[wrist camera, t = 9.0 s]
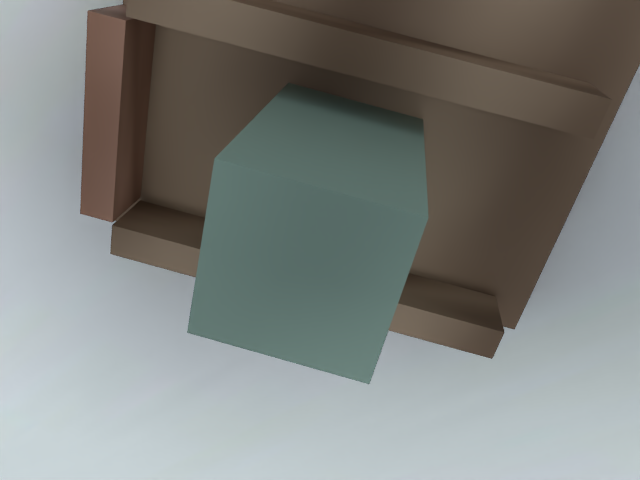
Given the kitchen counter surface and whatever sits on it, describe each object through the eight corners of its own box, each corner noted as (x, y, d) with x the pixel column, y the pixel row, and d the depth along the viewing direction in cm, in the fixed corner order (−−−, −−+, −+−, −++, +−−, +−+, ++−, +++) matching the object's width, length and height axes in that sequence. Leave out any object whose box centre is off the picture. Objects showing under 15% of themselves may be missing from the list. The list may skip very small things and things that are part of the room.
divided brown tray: (758, -220, 13) (839, -261, 11) (510, 316, 20) (524, 367, 17) (161, -366, 13) (103, -438, 11) (120, 209, 20) (79, 245, 18)
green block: (423, 119, 17) (428, 217, 10) (384, 239, 18) (369, 383, 12) (288, 82, 17) (214, 158, 11) (263, 206, 19) (187, 332, 12)
